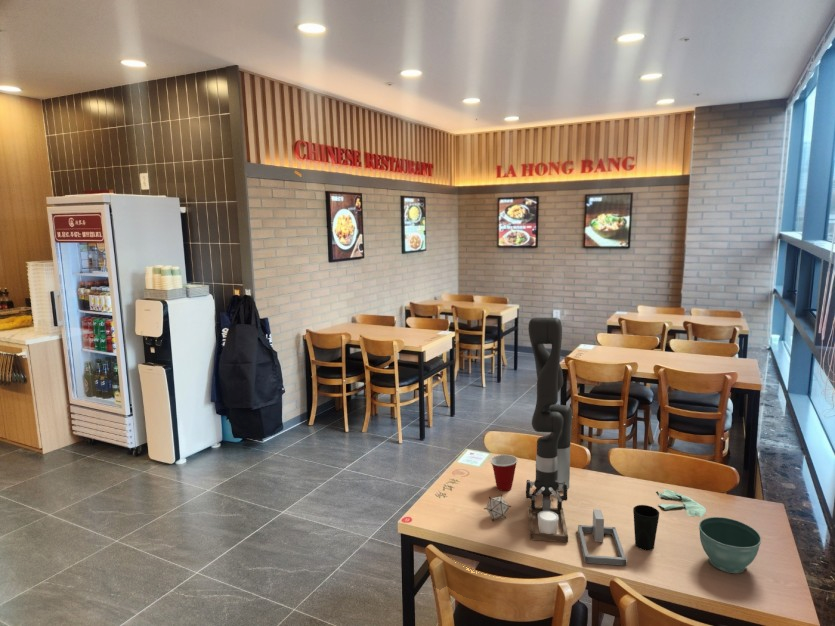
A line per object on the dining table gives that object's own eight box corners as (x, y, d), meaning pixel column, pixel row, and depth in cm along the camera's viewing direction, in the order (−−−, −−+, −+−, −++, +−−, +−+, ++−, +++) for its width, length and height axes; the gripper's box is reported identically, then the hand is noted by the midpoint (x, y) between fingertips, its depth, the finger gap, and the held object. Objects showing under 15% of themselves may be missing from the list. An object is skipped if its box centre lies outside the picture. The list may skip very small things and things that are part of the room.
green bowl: (771, 579, 157) (774, 545, 156) (717, 583, 156) (720, 548, 154) (735, 547, 173) (737, 515, 171) (686, 550, 172) (688, 518, 170)
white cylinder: (559, 531, 184) (559, 512, 183) (557, 542, 178) (557, 522, 177) (538, 527, 187) (539, 508, 185) (535, 538, 180) (536, 519, 179)
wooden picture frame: (528, 511, 197) (528, 490, 196) (562, 513, 195) (563, 492, 194) (530, 539, 179) (530, 517, 178) (568, 542, 177) (568, 519, 176)
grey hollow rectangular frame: (577, 530, 184) (578, 508, 183) (614, 532, 182) (615, 510, 181) (585, 562, 167) (585, 538, 165) (626, 565, 165) (627, 541, 163)
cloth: (711, 522, 189) (711, 516, 188) (643, 513, 196) (643, 507, 195) (701, 495, 208) (702, 489, 207) (639, 487, 215) (640, 481, 214)
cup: (655, 555, 170) (657, 519, 168) (629, 548, 174) (631, 513, 172) (659, 542, 176) (661, 508, 174) (634, 536, 180) (635, 502, 178)
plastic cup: (496, 478, 223) (496, 451, 221) (521, 485, 217) (521, 456, 215) (485, 490, 214) (485, 461, 212) (511, 496, 208) (511, 467, 206)
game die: (501, 529, 193) (510, 517, 186) (479, 519, 194) (486, 507, 187) (507, 507, 199) (515, 495, 192) (485, 498, 200) (493, 485, 193)
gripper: (566, 463, 193) (565, 505, 196) (525, 461, 195) (525, 503, 198) (568, 472, 186) (567, 516, 188) (526, 470, 188) (525, 513, 191)
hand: (546, 509), depth 193 cm, fingers open, 8 cm apart
